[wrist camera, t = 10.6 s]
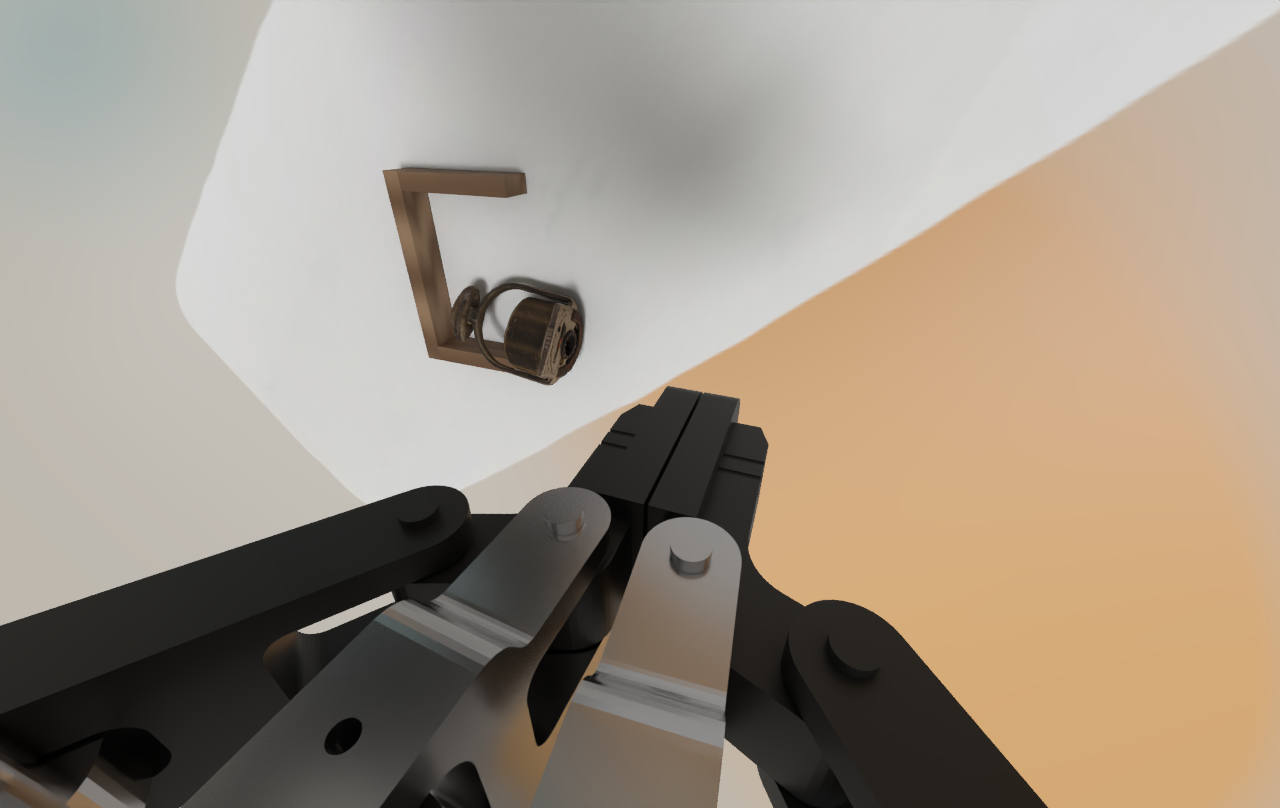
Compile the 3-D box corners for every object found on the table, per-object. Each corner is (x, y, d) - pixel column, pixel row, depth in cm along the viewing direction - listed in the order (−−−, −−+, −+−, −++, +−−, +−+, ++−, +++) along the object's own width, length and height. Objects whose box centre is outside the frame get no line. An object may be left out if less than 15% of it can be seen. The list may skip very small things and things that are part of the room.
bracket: (408, 167, 42) (382, 170, 40) (524, 173, 39) (503, 176, 36) (448, 346, 51) (429, 357, 49) (545, 363, 48) (529, 376, 45)
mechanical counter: (598, 274, 44) (607, 381, 43) (499, 303, 50) (506, 396, 49) (547, 252, 37) (556, 377, 37) (441, 288, 44) (448, 395, 43)
